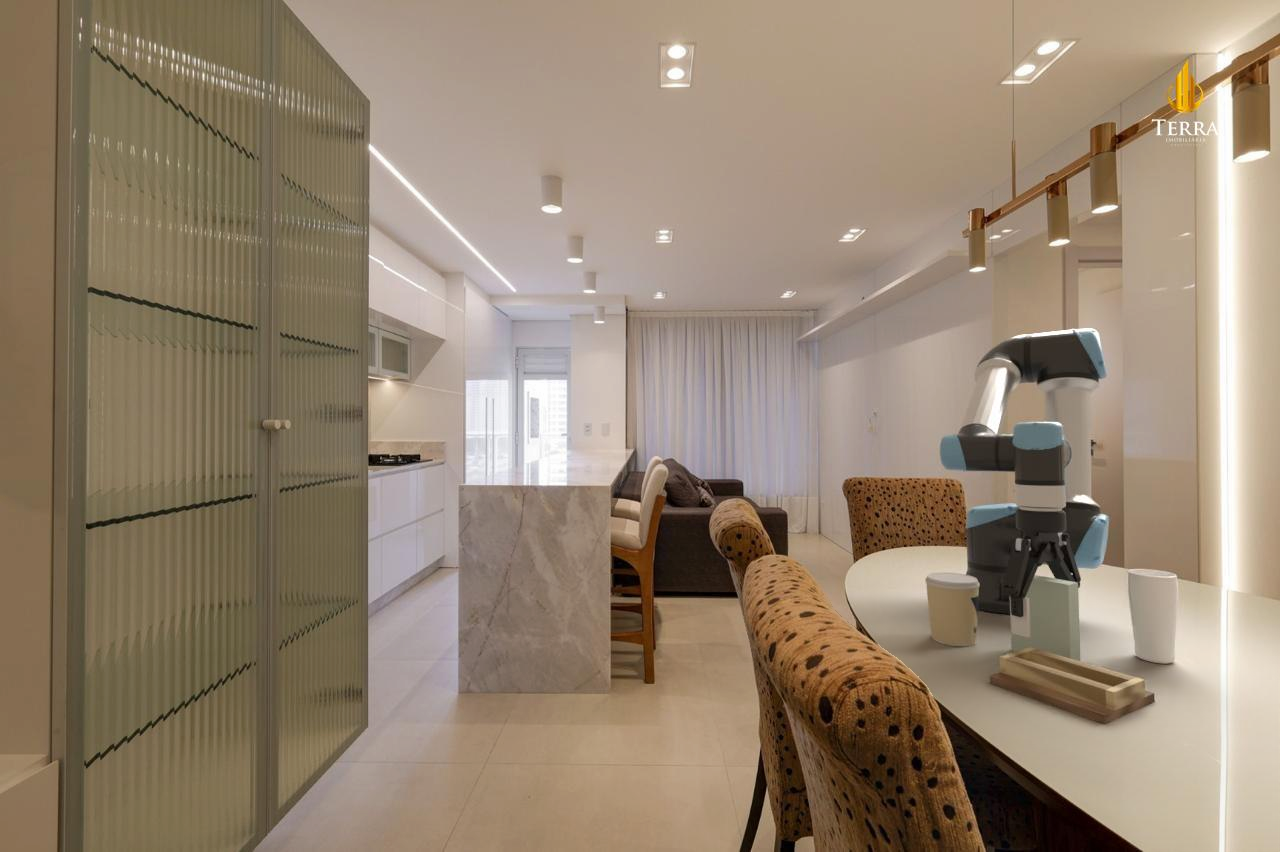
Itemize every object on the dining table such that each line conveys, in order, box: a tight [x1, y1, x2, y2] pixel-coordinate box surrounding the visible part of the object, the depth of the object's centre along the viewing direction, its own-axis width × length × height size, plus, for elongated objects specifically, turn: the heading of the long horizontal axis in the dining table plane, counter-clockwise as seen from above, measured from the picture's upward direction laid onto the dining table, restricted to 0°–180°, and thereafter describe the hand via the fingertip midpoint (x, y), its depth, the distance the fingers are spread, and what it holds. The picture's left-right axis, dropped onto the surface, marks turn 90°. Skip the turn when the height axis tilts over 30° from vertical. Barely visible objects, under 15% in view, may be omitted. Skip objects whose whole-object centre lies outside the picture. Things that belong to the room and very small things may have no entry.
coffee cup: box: [925, 572, 980, 647], centre depth 118 cm, size 9×9×12 cm
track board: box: [989, 647, 1155, 725], centre depth 93 cm, size 14×16×4 cm
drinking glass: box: [1126, 568, 1179, 665], centre depth 106 cm, size 7×7×15 cm
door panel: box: [1009, 574, 1082, 662], centre depth 108 cm, size 3×10×14 cm, turn 28°
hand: (1043, 628), depth 107 cm, fingers open, 13 cm apart
